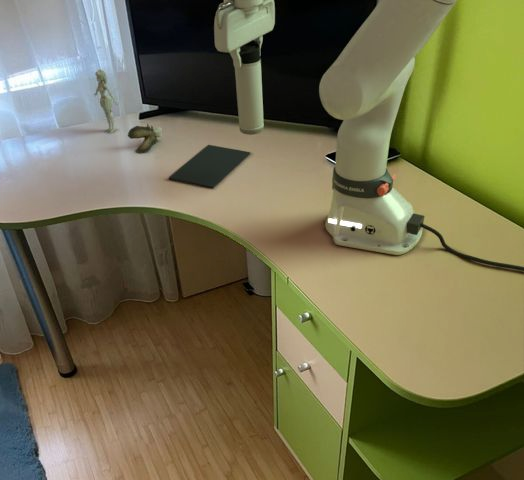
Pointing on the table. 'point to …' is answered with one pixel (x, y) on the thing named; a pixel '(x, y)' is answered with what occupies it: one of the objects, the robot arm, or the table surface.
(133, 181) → the table surface
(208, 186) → the desk pad
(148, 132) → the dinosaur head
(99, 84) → the human figurine
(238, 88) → the travel mug
